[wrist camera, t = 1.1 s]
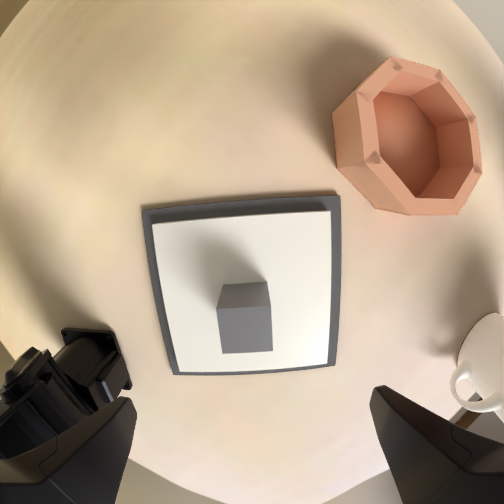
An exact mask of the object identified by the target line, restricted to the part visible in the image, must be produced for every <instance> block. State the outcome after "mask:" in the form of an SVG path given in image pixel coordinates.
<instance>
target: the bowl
mask: <svg viewBox="0 0 504 504" xmlns="http://www.w3.org/2000/svg"><path fill="white" fill-rule="evenodd" d="M331 114H332V121H333V130H334V140H335V150H336V163H337V169H338V170H339V171H340V172H341V173H342V174H343V175H344V176H345V177H346V178H347V179H348V180H349V181H350V182H351V183H352V184H353V185H354V186H355V187H356V188H357V189H358V190H359V191H360V192H361V194H362V195H363V196H364V197H365V198H366V199H367V200H368V201H369V202H370V203H371V204H372V205H373V206H374V208H375V209H380V210H385V211H390V212H395V213H400V214H405V215H409V216H411V215H458V213H459V212H460V210H461V208H462V207H463V205H464V204H465V202H466V200H467V199H468V197H469V196H470V194H471V192H472V190H473V189H474V187H475V185H476V184H477V182H478V180H479V178H480V176H481V175H482V163H481V152H480V143H479V135H478V129H477V122H476V117H475V115H474V114H473V112H472V111H471V109H470V108H469V106H468V105H467V104H466V102H465V101H464V99H463V98H462V97H461V95H460V94H459V93H458V91H457V90H456V89H455V88H454V86H453V85H452V84H451V83H450V81H449V80H448V79H447V78H446V76H445V75H444V74H443V73H442V72H441V71H440V70H438V69H435V68H432V67H429V66H426V65H422V64H419V63H415V62H411V61H408V60H404V59H400V58H395V57H391V56H390V57H389V58H388V59H387V60H386V61H384V62H383V63H382V64H381V65H380V66H379V67H378V68H377V69H375V70H374V71H373V72H372V73H371V74H370V75H369V76H368V77H366V78H365V79H364V80H363V81H362V82H361V83H360V84H359V86H358V87H357V88H356V89H355V90H354V91H353V92H352V93H351V94H350V95H349V96H348V97H347V98H346V99H345V100H344V101H343V102H342V103H341V104H340V105H339V106H338V107H337V108H336V109H335V110H334V111H333V112H332V113H331Z"/></svg>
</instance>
